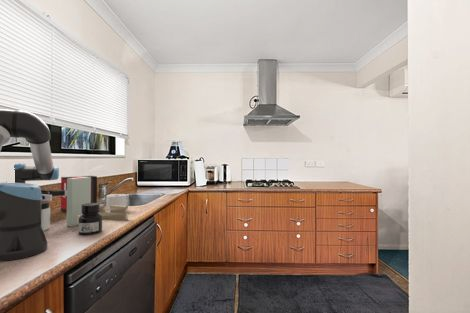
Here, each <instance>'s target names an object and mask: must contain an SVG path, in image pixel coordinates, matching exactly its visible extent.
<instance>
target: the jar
mask: <svg viewBox="0 0 470 313" xmlns="http://www.w3.org/2000/svg"><path fill="white" fill-rule="evenodd" d="M41 226H42V229H43V232H44V231H45V232H46V230H50V228H51V207H50V201H46V200H42V207H41Z"/></svg>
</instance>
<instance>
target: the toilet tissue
mask: <svg viewBox="0 0 470 313" xmlns="http://www.w3.org/2000/svg"><path fill="white" fill-rule="evenodd" d="M105 198H106V199H105V211H110V206H112V205H121V206H127V194H126V193H125V194H124V193H110V194H107V195H106V196H105Z"/></svg>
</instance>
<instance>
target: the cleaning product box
mask: <svg viewBox="0 0 470 313" xmlns="http://www.w3.org/2000/svg"><path fill="white" fill-rule="evenodd" d="M80 177H91V203H98V176H96V175H78V176H77V175H76V176H61V179H60V190H66V189H67V179H69V178H80ZM60 211H61V212H63V211H64V212H63V213H66V214H67V196H65V195H63V196H60Z"/></svg>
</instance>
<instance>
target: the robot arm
mask: <svg viewBox="0 0 470 313" xmlns="http://www.w3.org/2000/svg"><path fill="white" fill-rule="evenodd" d="M51 137H52V135H51V131H50V129H49V126H48V125H47V123H46V122H44V121H43V119H41V118H40V117H38V116H37V115H36V114H34V113H32V112H29V111H27V110H26V111H25V110H17V109H16V110H15V109H5V108H4V109H3V108H0V153H1V151H2V149H3V148H2V147H3V145H6V144H7V143H8V142H9V141H10V140H11V138H19V139H20V138H23V139H24V140H25V141H26V142H27V143H28V144H29V148H30V152H31V156H32V159H33V164H34V166H26V163H24V162H23V163H20V162H18V164H15V165H14V168H15V169H14V170H15V183H7V182H0V262H5V261H6V262H7V261H14V260H20V259H26V258H29V257H33V256H34V255H39V254H41V253H43V252H44V251H46V250H47V249H48V239H47V238H46V235H45V234H46V233H45V232H44V231H43V229H42V226H41V207H42V201H48V202H51V201H53V197H57V196H58V197H61V196H63V195H65V196H67V189H66V190H61V189H58V190H55V189H54V190H51V189H50V190H46V189H42V188H41V187H40V186H39V185H37V184H34V183H27V182H31V181H33V182H35V181H37V182H38V181H40V182H41V181H57V180H58V179H59V176H60V168H59V167H58V166H54V162H53V156H52V151H51V145H50V140H51Z"/></svg>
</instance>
